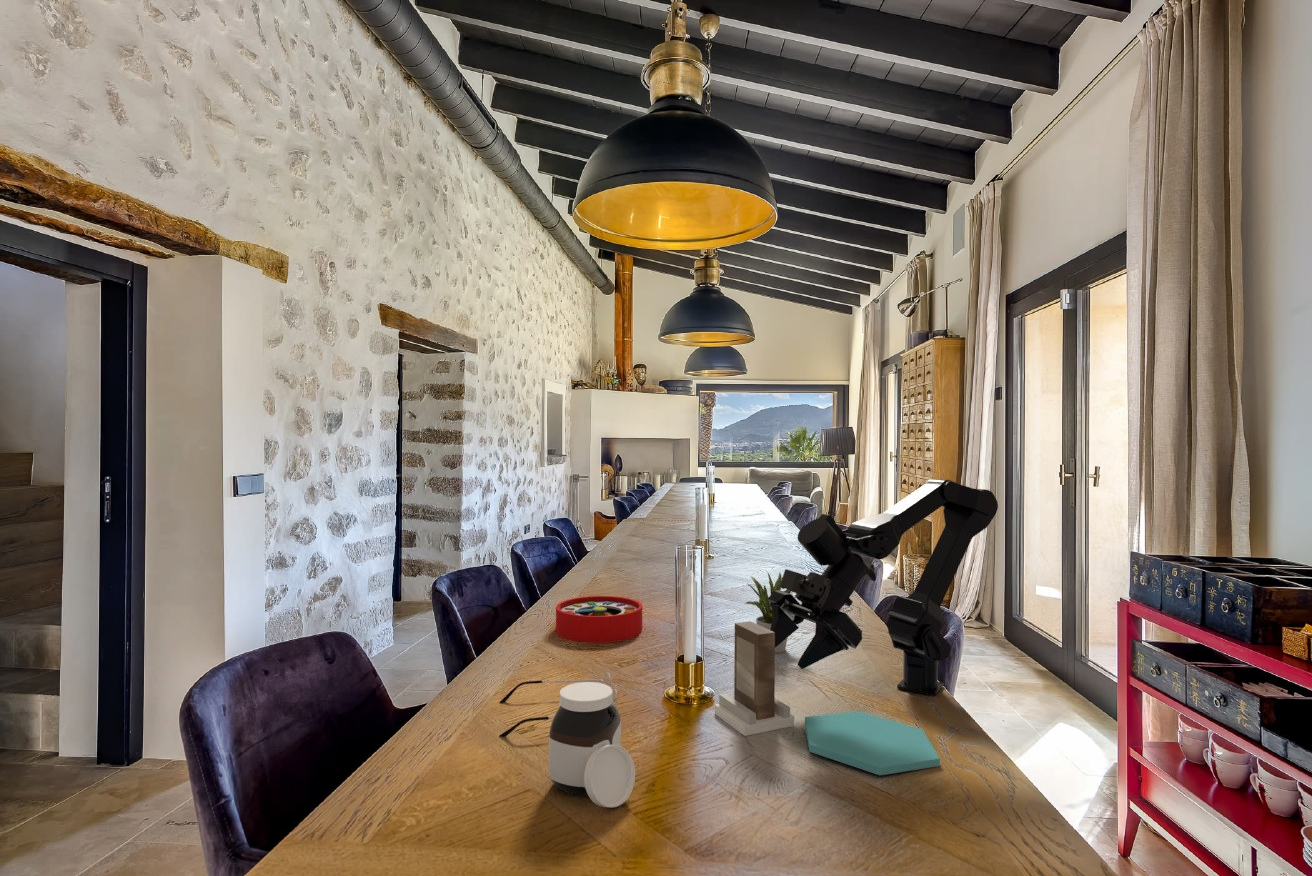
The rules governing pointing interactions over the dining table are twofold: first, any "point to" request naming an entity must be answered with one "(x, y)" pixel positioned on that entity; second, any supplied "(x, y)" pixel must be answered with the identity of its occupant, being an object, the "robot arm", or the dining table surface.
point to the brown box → (755, 668)
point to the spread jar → (590, 746)
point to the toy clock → (598, 619)
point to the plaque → (870, 742)
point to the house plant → (767, 607)
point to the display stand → (752, 716)
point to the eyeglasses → (555, 682)
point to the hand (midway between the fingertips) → (782, 658)
